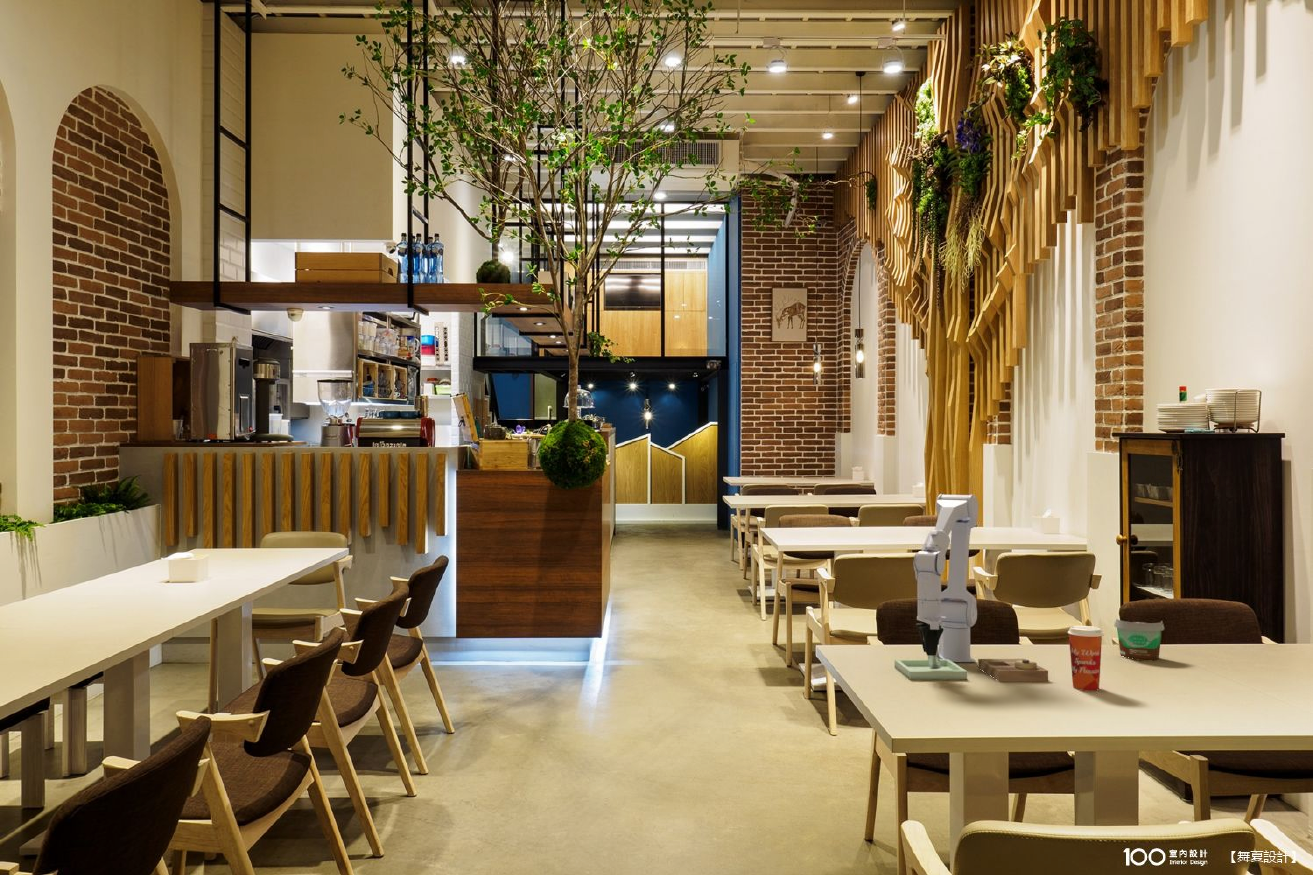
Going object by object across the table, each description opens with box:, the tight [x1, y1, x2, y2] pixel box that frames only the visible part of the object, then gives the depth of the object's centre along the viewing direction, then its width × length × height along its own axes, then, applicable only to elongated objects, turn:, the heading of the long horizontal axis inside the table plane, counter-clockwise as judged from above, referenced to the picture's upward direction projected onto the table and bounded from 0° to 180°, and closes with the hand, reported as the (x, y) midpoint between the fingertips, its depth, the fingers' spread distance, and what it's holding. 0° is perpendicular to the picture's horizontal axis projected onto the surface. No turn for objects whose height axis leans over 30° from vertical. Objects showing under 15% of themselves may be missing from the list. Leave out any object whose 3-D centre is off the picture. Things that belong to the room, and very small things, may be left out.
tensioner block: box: [977, 658, 1049, 682], centre depth 240 cm, size 14×12×4 cm
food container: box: [1113, 618, 1165, 661], centre depth 259 cm, size 12×6×10 cm, turn 73°
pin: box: [923, 638, 941, 669], centre depth 241 cm, size 4×4×8 cm
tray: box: [894, 658, 968, 681], centre depth 241 cm, size 14×14×2 cm
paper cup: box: [1067, 625, 1105, 691], centre depth 226 cm, size 8×8×14 cm
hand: (929, 653), depth 241 cm, fingers closed on pin, 3 cm apart
